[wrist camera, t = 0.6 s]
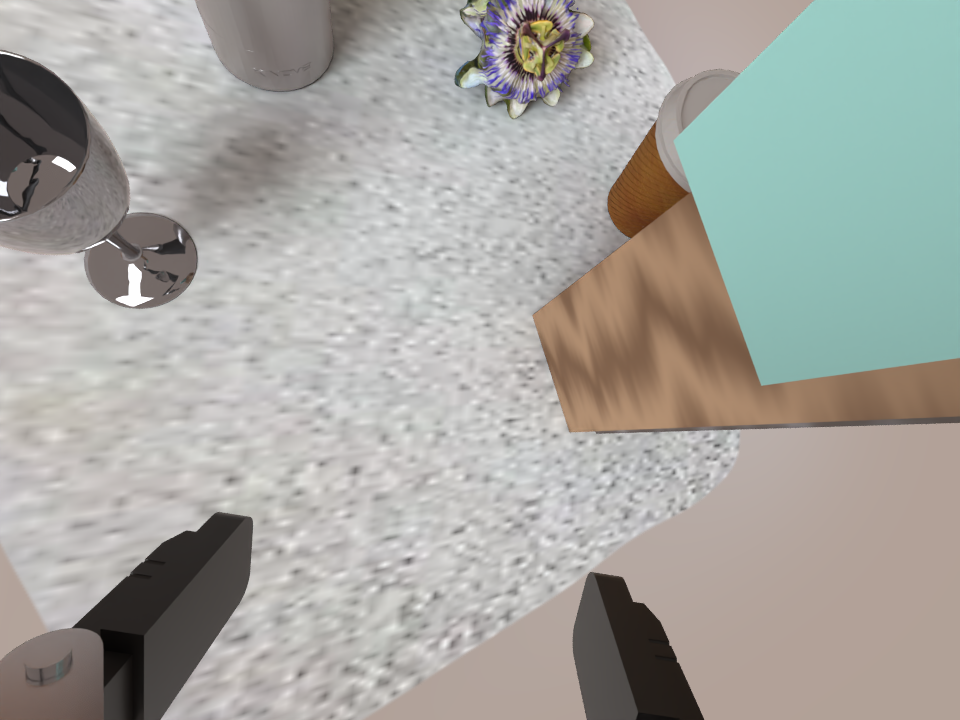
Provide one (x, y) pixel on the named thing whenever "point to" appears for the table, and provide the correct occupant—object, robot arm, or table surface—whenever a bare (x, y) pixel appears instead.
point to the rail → (839, 189)
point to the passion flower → (524, 49)
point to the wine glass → (79, 193)
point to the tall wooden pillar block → (701, 352)
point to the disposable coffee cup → (662, 155)
